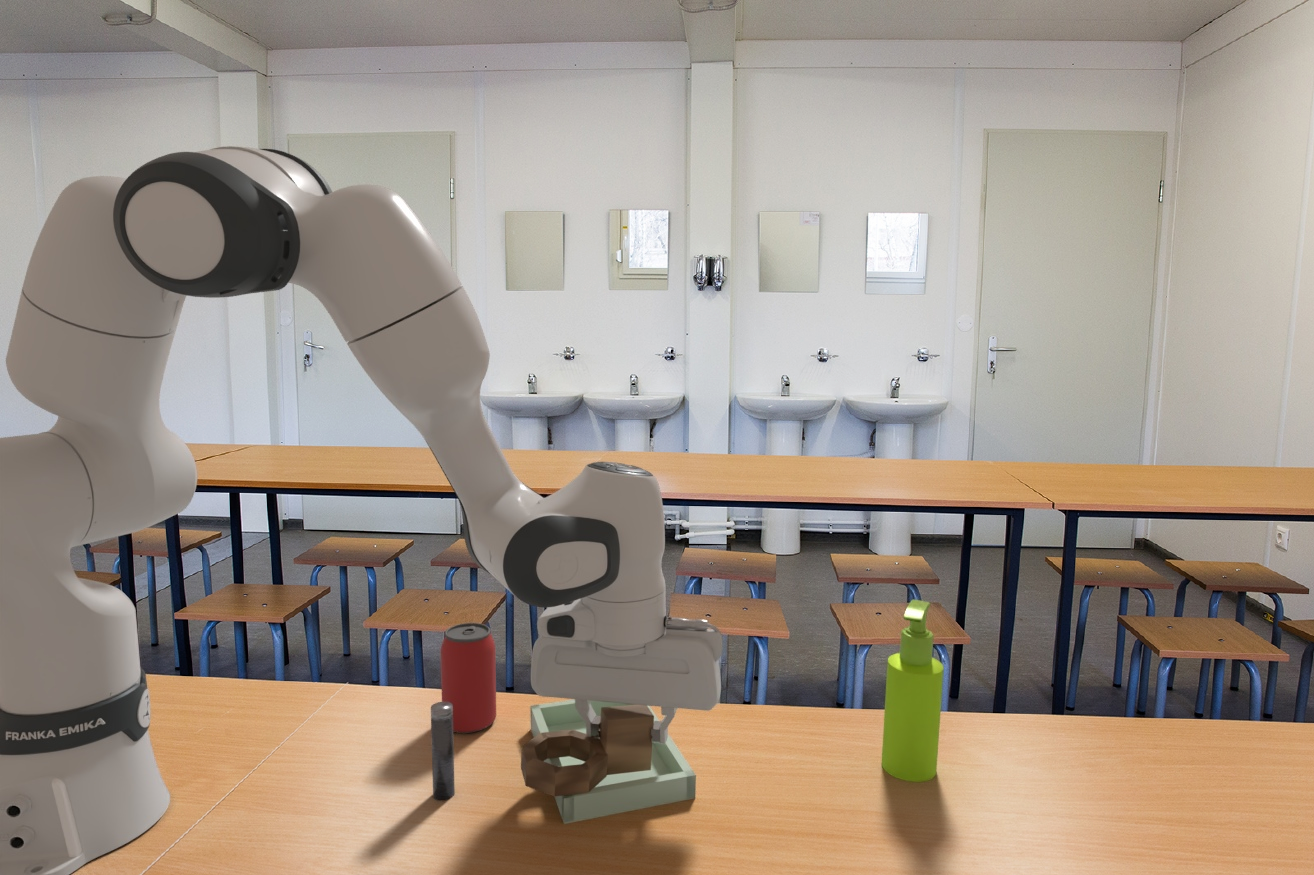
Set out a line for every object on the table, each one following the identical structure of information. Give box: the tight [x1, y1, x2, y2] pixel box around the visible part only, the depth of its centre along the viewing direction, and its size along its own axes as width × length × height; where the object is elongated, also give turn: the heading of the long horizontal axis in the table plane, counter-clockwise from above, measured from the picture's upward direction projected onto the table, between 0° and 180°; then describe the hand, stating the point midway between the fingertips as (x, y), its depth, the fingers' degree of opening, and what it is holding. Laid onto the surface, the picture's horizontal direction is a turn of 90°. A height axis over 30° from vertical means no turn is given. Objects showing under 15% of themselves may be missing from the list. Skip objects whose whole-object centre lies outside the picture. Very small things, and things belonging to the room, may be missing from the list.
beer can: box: [440, 622, 497, 734], centre depth 97 cm, size 7×7×12 cm
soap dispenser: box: [881, 599, 944, 783], centre depth 86 cm, size 6×7×20 cm
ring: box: [520, 705, 654, 798], centre depth 82 cm, size 8×13×6 cm, turn 108°
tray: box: [529, 699, 697, 825], centre depth 89 cm, size 14×20×3 cm
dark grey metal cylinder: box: [430, 701, 456, 802], centre depth 82 cm, size 2×2×10 cm
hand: (626, 737), depth 84 cm, fingers closed on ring, 6 cm apart
